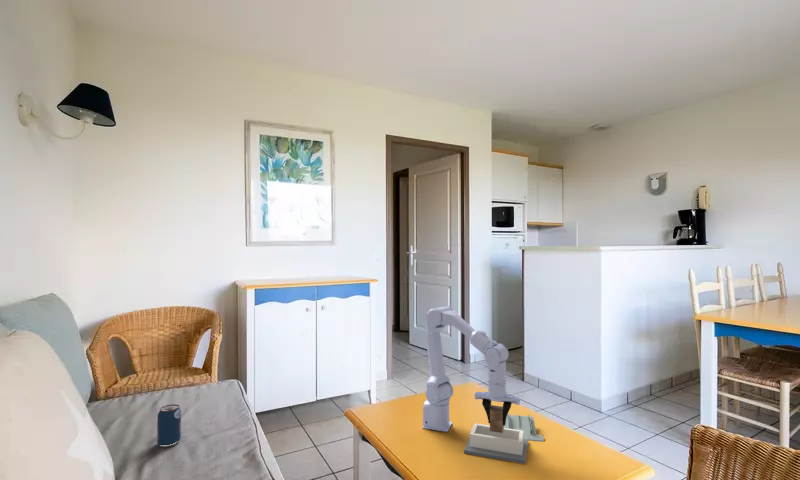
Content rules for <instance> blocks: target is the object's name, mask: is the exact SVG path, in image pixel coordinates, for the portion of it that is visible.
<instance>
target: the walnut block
mask: <svg viewBox="0 0 800 480" xmlns="http://www.w3.org/2000/svg"><path fill="white" fill-rule="evenodd" d="M489 426H490V431H492V432H499V433H503V429H504V425H503V406H500V405H495V404H494V405H493V404H491V408H490V423H489Z"/></svg>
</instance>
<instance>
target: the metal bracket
mask: <svg viewBox="0 0 800 480" xmlns="http://www.w3.org/2000/svg"><path fill="white" fill-rule="evenodd" d="M504 428H509V429H516V430H522V431H524V439H528V441H532V442H542V443H543V442H545V441H544V440H545V439H544V436H543V434H537V429H536V425H535V418H534V416H531V415H530V414H528V415H519V414H517V415H514V414H509V413H508V414H507V417H506V424H505V426H504Z"/></svg>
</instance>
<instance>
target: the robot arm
mask: <svg viewBox="0 0 800 480" xmlns="http://www.w3.org/2000/svg"><path fill="white" fill-rule="evenodd" d="M425 320H426V321H425V326H424V331H425V332H424V333H425V340H426V341H425V342H426V349H427V350H426V351H427V357H428V365H429V374H430V375H429V378H428V379H427V381H426V390H425V397H426V399H425V401H424V403H423V407H422V428H423V429H427V430H433V431H438V432H445V433H447V432H449V430H450V428H451V427H452V425H453V421H450V401H451V398H452V396H453V395H454V388H453V385H452V383H451V378H450V377H448V375H446V370H445V363H444V355H443V354H444V353H443V347H442V346H443V345H442V339H441V332H442V330H443V329H444V328H445V327H446V326H452V327H453V328H455V329H456V330H458V331H459V332H460V333H462V335H464V336H466V337H467V338H468V339H469V344H471V346H473V348H475V349H476V350H478V351H479V352H480V353H481V354H482V355H483V356H484V359H485V361H486V363H487V387H488V388H487V390H488V391H474V392H475V393H474V400H482V403H481V404H482V408H483V409H484V411H485V414H486V417H487V423H488V424H490V408H491V405H492V402H497V403H498V402H500V403H503V404H502V407H503V425H504V426H505V424H506V417H507V414H508V415H509V413H510V412H509V411H510V410H511V407H512V404H515V405H517V406H520V404H521V397H520V396H515V395H512V394H507V392H506V391H507V386H506V385H507V384H506V383H507V381H506V380H507V374H506V373H507V371H506V370H507V367H506V366H507V364H506V363H507V362H506V361H507V360H508V359H509V357H510V355H509V350H508V348H507V347H506V346H505V345H504V344H503V343H498V342H497V341H496V340H493V339H492V338H491V337H490V336H488V335H487V333H486V332H485V331H484V330H475V329H474V328H473V327H472V325H470V324H469V323H468V322H467V321H465V320H464V318H463V317H462V316H460V315H459V314H458V311H457V310H455V309H454V308H453V307H451V306H450V305H445V306H441V307H436V308H435V307H432V308H430V309H429V310H428V311H427V313H426V314H425Z"/></svg>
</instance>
